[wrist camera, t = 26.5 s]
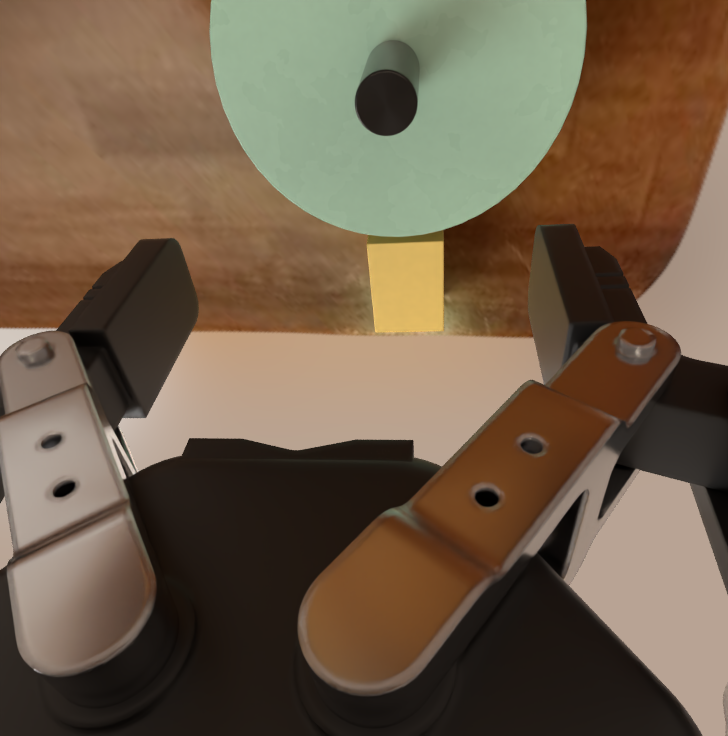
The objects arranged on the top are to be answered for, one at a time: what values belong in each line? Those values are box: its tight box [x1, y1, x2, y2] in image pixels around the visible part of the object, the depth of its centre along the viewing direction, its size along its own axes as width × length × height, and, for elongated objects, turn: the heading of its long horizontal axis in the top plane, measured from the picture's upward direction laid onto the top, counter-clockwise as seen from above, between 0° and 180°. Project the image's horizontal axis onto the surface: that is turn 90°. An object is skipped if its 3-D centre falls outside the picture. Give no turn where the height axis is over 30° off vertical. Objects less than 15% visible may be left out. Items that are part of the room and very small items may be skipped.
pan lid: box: [210, 0, 587, 237], centre depth 24 cm, size 16×16×6 cm
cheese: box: [367, 230, 444, 332], centre depth 36 cm, size 4×6×4 cm
